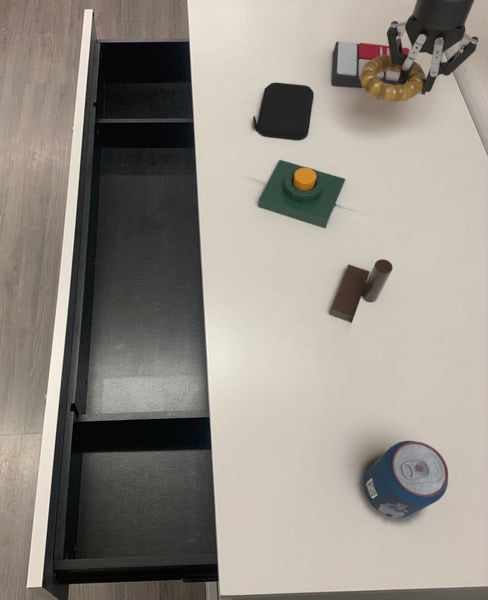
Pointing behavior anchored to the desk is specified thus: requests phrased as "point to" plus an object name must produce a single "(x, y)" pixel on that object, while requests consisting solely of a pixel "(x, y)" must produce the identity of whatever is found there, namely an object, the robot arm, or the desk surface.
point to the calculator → (358, 63)
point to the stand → (359, 288)
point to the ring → (388, 90)
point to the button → (304, 179)
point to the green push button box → (301, 195)
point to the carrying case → (285, 111)
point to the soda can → (406, 479)
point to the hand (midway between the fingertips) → (413, 88)
